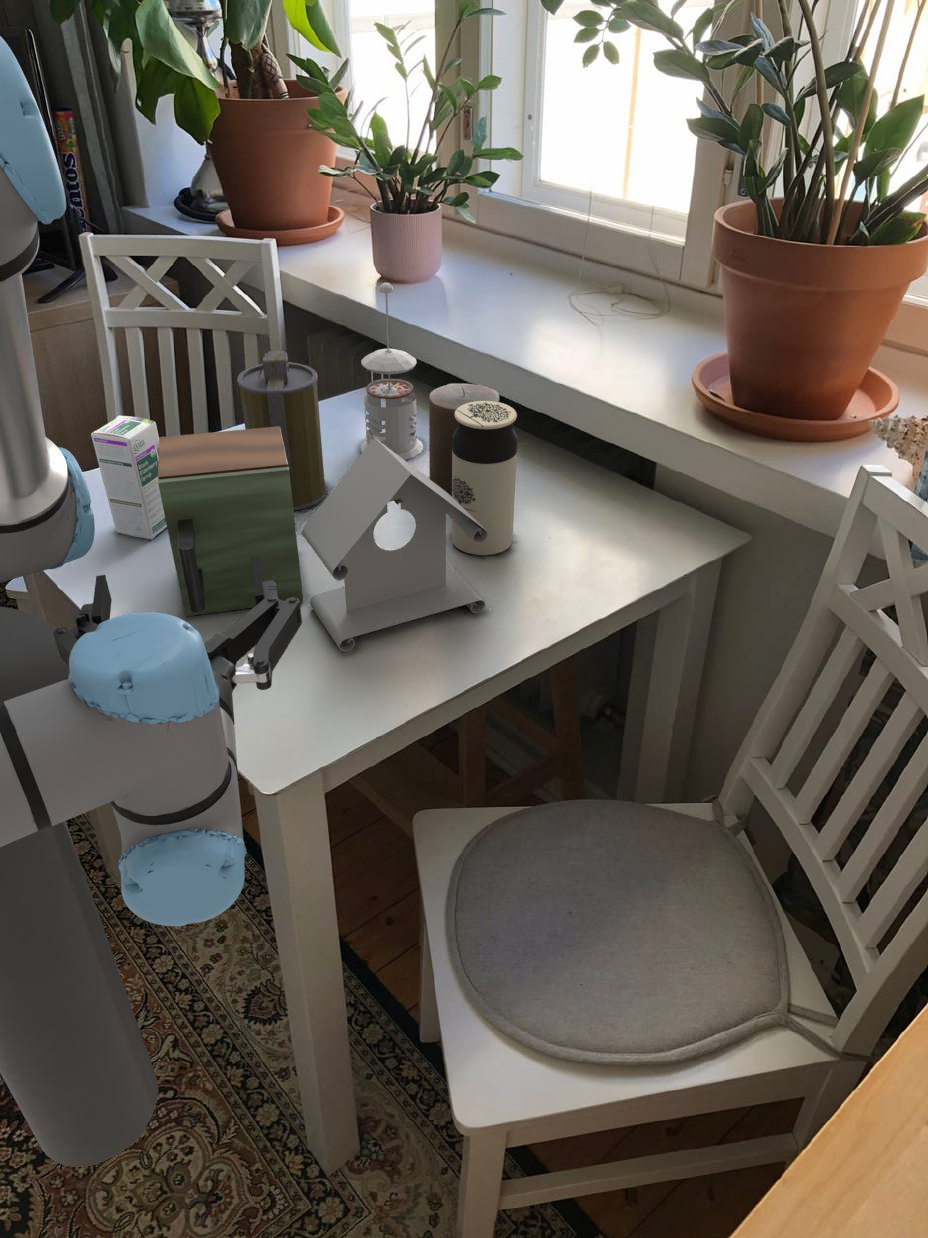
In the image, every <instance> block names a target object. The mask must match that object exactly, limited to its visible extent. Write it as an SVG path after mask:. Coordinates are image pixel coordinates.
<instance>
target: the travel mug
mask: <svg viewBox="0 0 928 1238" xmlns="http://www.w3.org/2000/svg"><path fill="white" fill-rule="evenodd" d="M517 417H518V413H517V411H516V410H515V409H514V408H513V407H511V406H510V405H508V404H506V403H503V402H500V401H499V402H494V401H475V402H470V403H466V404H464V405H461V406H460V407H458V408H457V409H456V411H455V418H456V420H457V423H458V427H457V429H456V431H455V433H454V434H453V437H452V498H453V499H454V500H456V501H457V502H458V503H459V504H460V505H461V506H462V507H463V508H464V509H465V510H466V511H467V512H468V513H469V514H470V515H471V516H472V517H473V518H474V519H475V520H476V521H477V522H478V523H479V524H480V525H482V526H483V527H484V528H485V529H486V530H487V532H488V537H487V539H486V540H485V541H484V542H483V543H480V544H477V543H475V542H474V541H473V540H472V539H471V538H470V537H469V536H468V535H467V534H466V533H465V532H464V531H463V530H462V529H461V528H460V527H459V526H458V525H457V524H456V523H455V522H454V521H453V520H452V519H451V542H452V545H454V546H455V547H456V548H457V549H459V550H460V551H462V552H464V553H467V554H471V555H477V556H488V555H496V554H499V553H502V552H505V551H506V550H508V549H509V548H510V547H511V546H512V543H513V539H514V519H515V518H514V517H515V499H516V478H517V460H518V458H517V457H518V442H519V441H518V435H517V433H516V431H515V430H514V428H513V427H514V423H515V421H516V420H517Z"/></svg>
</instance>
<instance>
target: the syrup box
mask: <svg viewBox="0 0 928 1238" xmlns="http://www.w3.org/2000/svg"><path fill="white" fill-rule="evenodd" d="M90 437H91V440H92V444H93V448H94V450H95V451H94V452H95V456H96V459H97V460H96V461H97V463H98V467H99V472H100V475H101V479H102V483H103V487H104V490H105V495H106V498H107V501H108V505H109V510H110V514H111V517H112V521H113V526H114V529H115V531H116V533H118V534H122V535H126V536H130V537H135V538H140V539H145V540H154V539H155V538H156V536H158V535H159V534H160V533H161V532H162V531H164V530H165V529H167V524H166V519H165V514H164V509H163V505H162V500H161V495H160V490H159V485H158V461H159V437H160V436H159V432H158V426H157V423H156V421H154V420H151V419H147V418H143V417H139V416H132V415H131V416H129V415H117V416H116V417H115V418H114V419H112V420H111V421H110V422H108V423H106V424H104V425H103V426H101V427H99V428H98V429H96V430H94V431H92V432H91V433H90Z"/></svg>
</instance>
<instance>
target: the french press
mask: <svg viewBox="0 0 928 1238" xmlns="http://www.w3.org/2000/svg"><path fill="white" fill-rule="evenodd" d="M393 292H394V287H393V285H392V284H391V283H389V282H382V283H381V284H380V285H379V293H381V294H384V295H385V318H386V342H387V346H386V347H387V348H382V349H381V348H380V349H377V350H375V351H373V352H371V353H369V354H367V355H365V356H364V357H363V358H362V359H361V361H360V362H361V366H362V367H363V368H364V369H366V370H368V371H369V372H370V375H371V379H370V380H371V382H369V383H368V384H367V385H366V386H365V392H366V394H365V395H364V398H363V402H364V403H363V404H364V415H365V416H364V419H365V420H364V422H365V440H364V441H363V442H362V444H361V445H360V452H361V454H362V453H363V451H364V450H365V449H366V448H367V446H368V445H369V444H370V442H371V441H372V440H373V439H374V437H375V438H376V439H377V440H379V441H380V442H381V443H382V444H384V445H385V446H386V447H388V448H389V449H390V450H392V451H393V452H394V453H396V454H397V455H398V456H400V457H401V458H402V459H404V460H405V461H406V460H409V459H412V458H413V459H414V458H415V457H416V456H418V455H420V454H421V453H422V451H423V450H424V445H423V442H422V441H421V440H420V439H419V438H418V436H417V434H418V433H417V432H418V431H417V430H418V429H417V396H416V393H415V392H413V391H414V390H415V387H414V385H413V384H412V383H411V382H410V381H407V380H404V379H398V378H397V379H396V378H391V375H398V374H403V373H407V372H409V371H412V370H413V369H414V368H415V367H416V365H417V363H418V362H417V359H416V357H414V356H412V355H411V354H410V353H408V352H406V351H404V350H400V349H395V348H392V347H391V348H390V338H389V337H390V335H389V334H390V333H389V305H388V294H391V293H393ZM374 374H378V375H379V374H380V375H381V379H376V380H374V376H373V375H374ZM384 375H388V376H387V377H388V378H384ZM404 398H410V399H412V400H413V401H408V400H404V401H402V399H404ZM382 400H384V402H385V407H384V406H382ZM367 413H368V414H367ZM383 422H384V424H383Z"/></svg>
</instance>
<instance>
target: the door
mask: <svg viewBox="0 0 928 1238" xmlns="http://www.w3.org/2000/svg"><path fill="white" fill-rule="evenodd" d="M158 485H159V490H160V495H161V500H162V505H163V509H164V514H165V519H166V524H167V527H166V529H167V533H168V538H169V544H170V548H171V554H172V559H173V563H174V569H175V572H176V573H175V574H176V578H177V583H178V587H179V592H180V598H181V603H182V607H183V612H184V617H190V616H198V615H199V616H200V615H206V614H215V613H223V612H228V611H229V612H230V611H238V610H245V609H253V608H254V607H255V606H256V598H255V591H254V583H253V575H252V566H251V558H250V557H258V556H259V563H260V570H261V577H262V582H263V581H271V580H273V581H274V582H275V583H276V590H277V596H278V599H280V600H282V601H286V599H288V598H290V597H297V598H298V599H299V600H300V602H304V595H303V586H302V576H301V567H300V556H299V548H298V540H297V529H296V522H295V521H296V520H295V514H294V513H295V511H293V501H292V492H291V483H290V474H289V467H280V468H270V469H260V470H250V471H240V472H230V473H220V474H210V475H200V476H190V477H180V478H170V479H159V480H158Z"/></svg>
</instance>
